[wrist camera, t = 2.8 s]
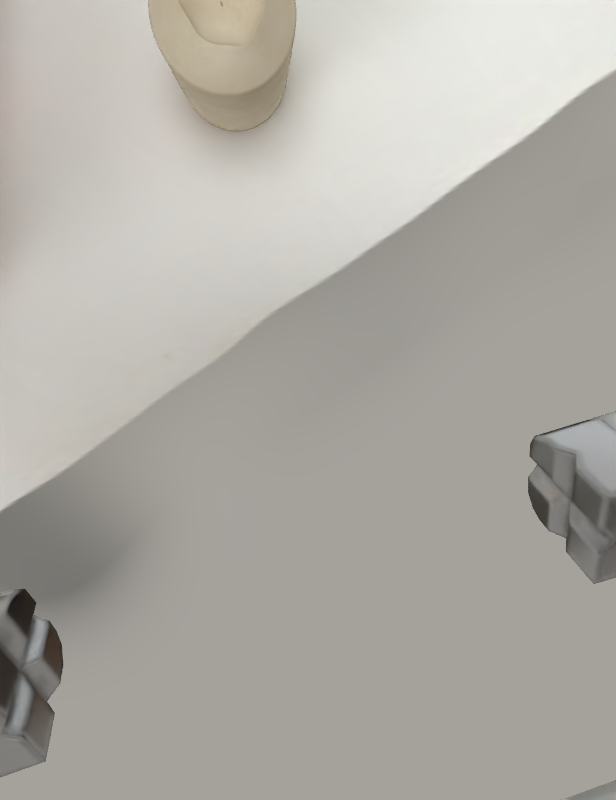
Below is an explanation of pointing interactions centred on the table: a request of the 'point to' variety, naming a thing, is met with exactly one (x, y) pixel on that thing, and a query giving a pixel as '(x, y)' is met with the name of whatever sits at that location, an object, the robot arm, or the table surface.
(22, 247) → the table surface
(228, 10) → the candle
